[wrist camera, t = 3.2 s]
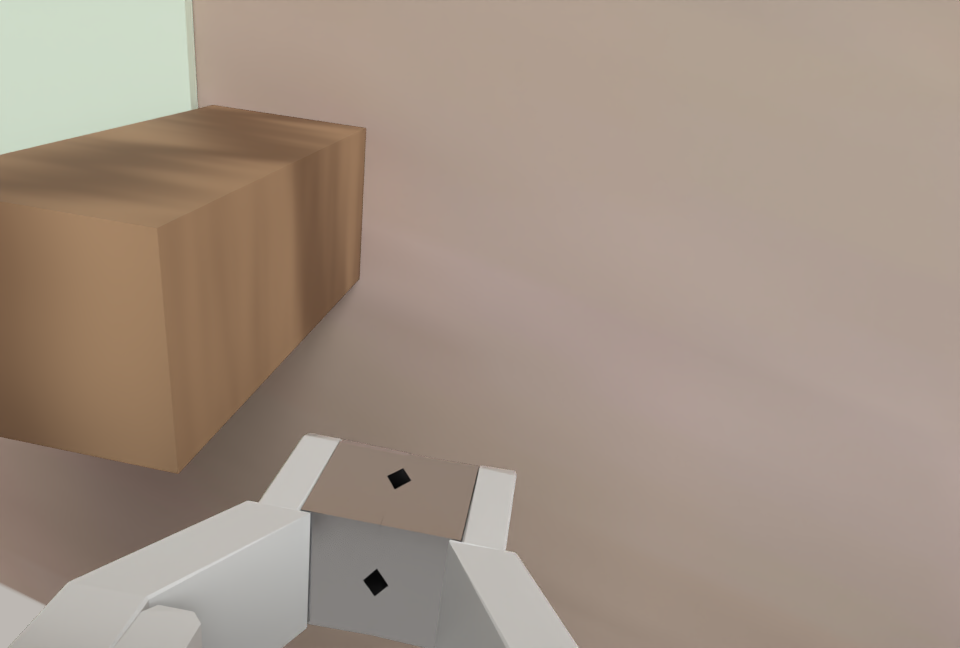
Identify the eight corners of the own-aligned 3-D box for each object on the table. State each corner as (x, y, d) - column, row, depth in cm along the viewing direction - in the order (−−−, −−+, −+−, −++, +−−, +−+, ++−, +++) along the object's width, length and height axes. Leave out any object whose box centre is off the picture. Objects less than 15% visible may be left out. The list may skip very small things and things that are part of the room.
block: (366, 128, 21) (156, 228, 11) (359, 278, 23) (178, 473, 13) (213, 105, 22) (-116, 181, 12) (219, 254, 24) (-53, 425, 14)
